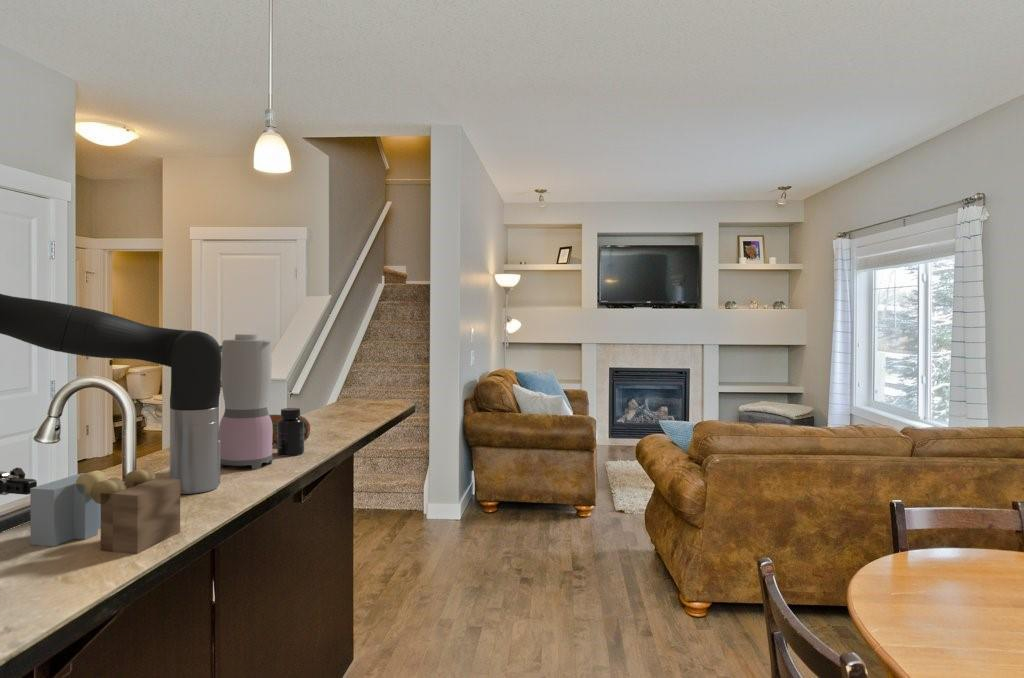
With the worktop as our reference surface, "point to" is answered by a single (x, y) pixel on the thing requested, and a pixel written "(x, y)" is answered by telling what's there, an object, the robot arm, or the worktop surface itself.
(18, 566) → the worktop surface
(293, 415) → the supplement bottle
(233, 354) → the blender
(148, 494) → the fixed leaf
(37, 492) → the grey block
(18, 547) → the worktop surface
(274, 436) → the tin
